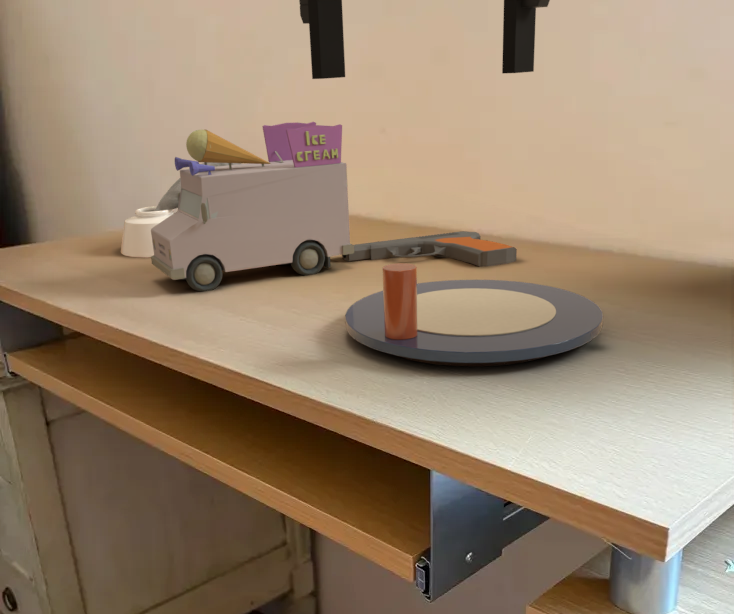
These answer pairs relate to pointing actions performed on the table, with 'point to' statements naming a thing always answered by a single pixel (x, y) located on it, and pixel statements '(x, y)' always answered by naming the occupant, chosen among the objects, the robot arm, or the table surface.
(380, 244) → the handgun
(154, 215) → the inkwell
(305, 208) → the toy vehicle
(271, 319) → the table surface
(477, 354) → the plate
